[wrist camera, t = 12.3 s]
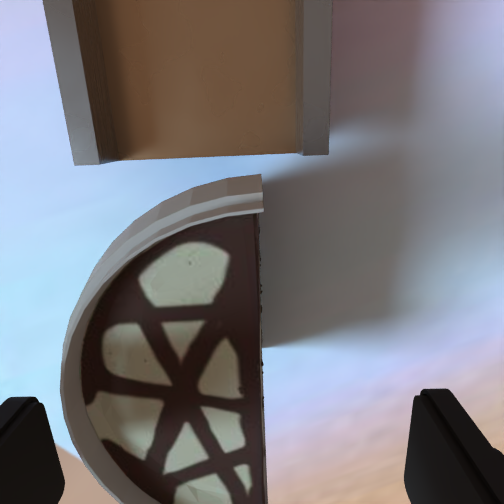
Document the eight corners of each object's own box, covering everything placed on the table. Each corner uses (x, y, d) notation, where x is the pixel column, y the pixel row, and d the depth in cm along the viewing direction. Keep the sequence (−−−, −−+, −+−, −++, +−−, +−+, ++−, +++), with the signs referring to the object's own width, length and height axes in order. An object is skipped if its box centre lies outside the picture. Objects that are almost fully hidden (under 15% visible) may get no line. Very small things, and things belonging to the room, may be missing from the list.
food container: (130, 160, 17) (-19, 191, 8) (257, 156, 17) (263, 183, 8) (159, 373, 21) (82, 568, 12) (262, 370, 21) (270, 565, 12)
